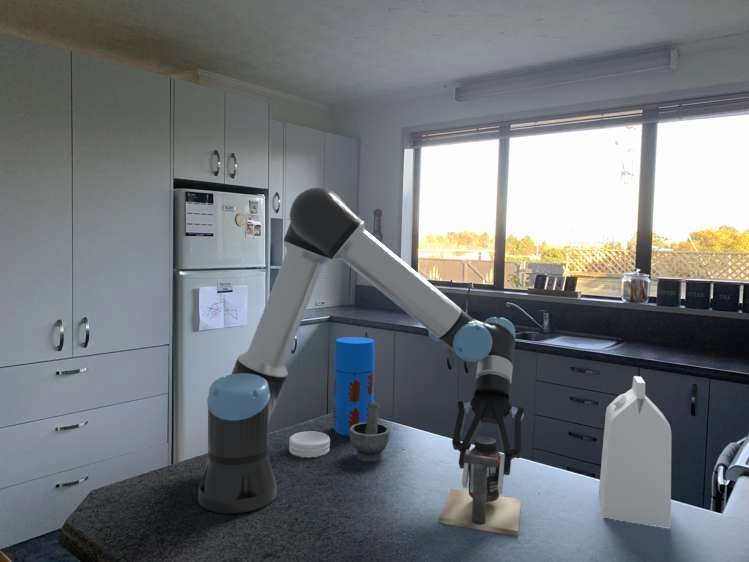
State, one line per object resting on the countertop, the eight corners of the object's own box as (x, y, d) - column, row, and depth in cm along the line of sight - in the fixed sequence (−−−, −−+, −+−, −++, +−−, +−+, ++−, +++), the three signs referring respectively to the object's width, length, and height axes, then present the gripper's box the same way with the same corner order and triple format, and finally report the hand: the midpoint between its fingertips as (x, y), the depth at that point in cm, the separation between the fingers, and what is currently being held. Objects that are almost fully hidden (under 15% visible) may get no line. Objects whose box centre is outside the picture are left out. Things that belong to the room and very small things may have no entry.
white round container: (280, 451, 134) (280, 437, 134) (309, 441, 142) (309, 427, 142) (310, 462, 128) (310, 447, 128) (338, 450, 136) (338, 436, 136)
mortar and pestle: (385, 466, 126) (386, 415, 125) (345, 462, 128) (346, 412, 127) (392, 449, 137) (393, 402, 136) (355, 445, 139) (357, 399, 138)
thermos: (380, 428, 152) (382, 339, 151) (358, 439, 143) (361, 345, 142) (348, 421, 158) (350, 335, 157) (325, 431, 149) (327, 340, 148)
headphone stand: (439, 523, 100) (441, 453, 100) (450, 493, 113) (453, 430, 112) (517, 537, 96) (520, 464, 96) (521, 504, 109) (523, 439, 108)
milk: (670, 529, 100) (678, 390, 99) (602, 518, 104) (609, 383, 103) (659, 501, 112) (666, 375, 110) (598, 492, 115) (605, 370, 114)
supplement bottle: (477, 486, 111) (479, 432, 110) (504, 495, 107) (507, 439, 106) (462, 496, 106) (464, 439, 106) (490, 506, 102) (492, 447, 102)
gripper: (538, 395, 117) (534, 503, 103) (451, 386, 123) (434, 487, 108) (539, 376, 112) (534, 487, 97) (447, 368, 118) (430, 471, 103)
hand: (482, 487), depth 103 cm, fingers closed on supplement bottle, 6 cm apart
